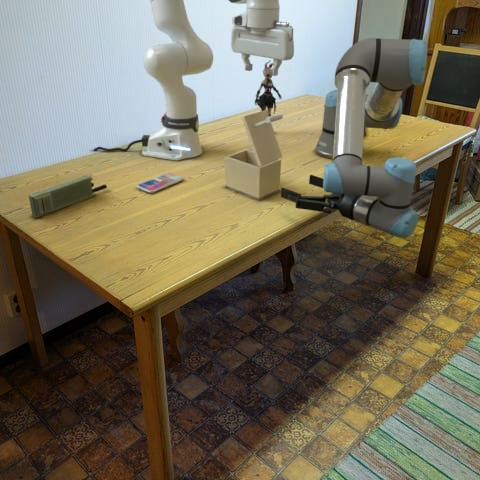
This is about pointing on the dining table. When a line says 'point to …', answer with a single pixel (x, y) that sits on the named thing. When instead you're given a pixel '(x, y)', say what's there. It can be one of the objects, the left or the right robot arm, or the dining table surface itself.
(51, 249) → the dining table surface
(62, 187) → the handheld radio
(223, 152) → the dining table surface
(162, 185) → the smartphone
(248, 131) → the lid
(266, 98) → the figurine
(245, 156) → the chest
